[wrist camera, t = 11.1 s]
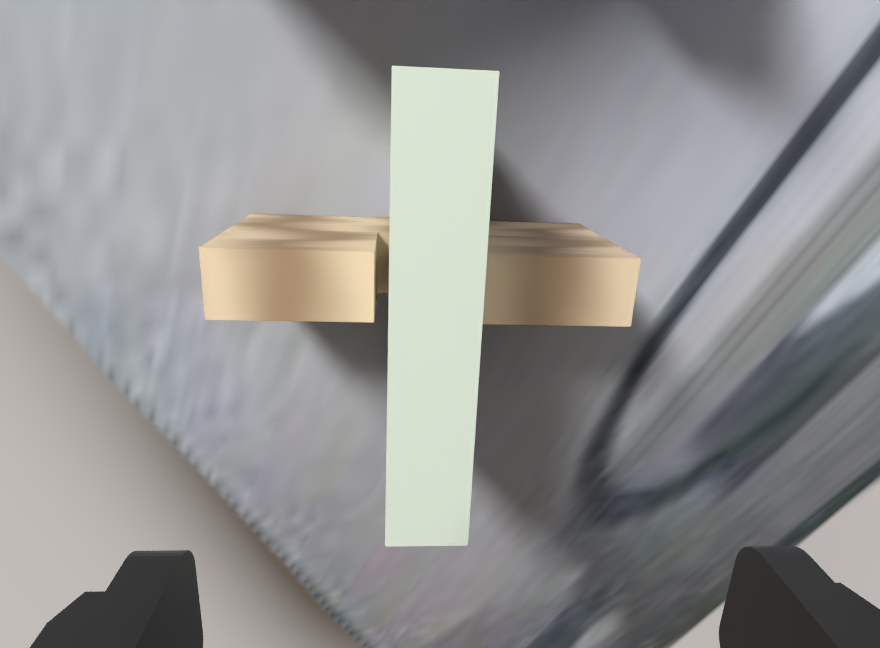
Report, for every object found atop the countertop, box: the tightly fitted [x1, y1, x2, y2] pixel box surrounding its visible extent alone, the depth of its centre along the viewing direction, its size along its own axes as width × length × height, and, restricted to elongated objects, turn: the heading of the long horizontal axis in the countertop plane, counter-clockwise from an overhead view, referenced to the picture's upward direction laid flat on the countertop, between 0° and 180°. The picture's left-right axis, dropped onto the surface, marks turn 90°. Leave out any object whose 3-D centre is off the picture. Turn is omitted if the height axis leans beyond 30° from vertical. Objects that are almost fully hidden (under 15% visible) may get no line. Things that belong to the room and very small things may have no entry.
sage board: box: [385, 66, 499, 546], centre depth 26 cm, size 3×16×15 cm, turn 178°
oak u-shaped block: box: [199, 214, 641, 327], centre depth 29 cm, size 18×3×9 cm, turn 88°
